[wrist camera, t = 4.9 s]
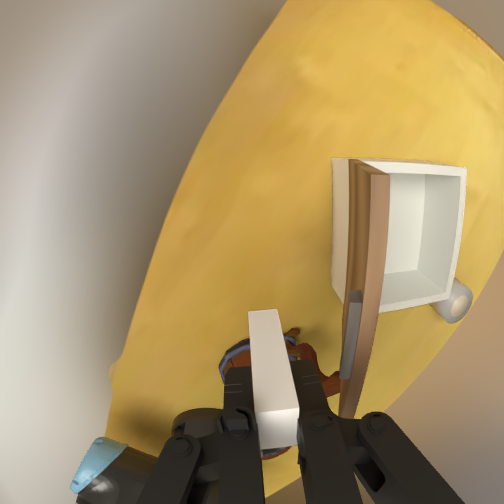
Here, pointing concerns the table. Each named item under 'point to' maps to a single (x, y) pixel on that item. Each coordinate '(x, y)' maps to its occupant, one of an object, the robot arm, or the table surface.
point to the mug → (242, 357)
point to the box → (407, 229)
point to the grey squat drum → (455, 303)
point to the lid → (362, 276)
